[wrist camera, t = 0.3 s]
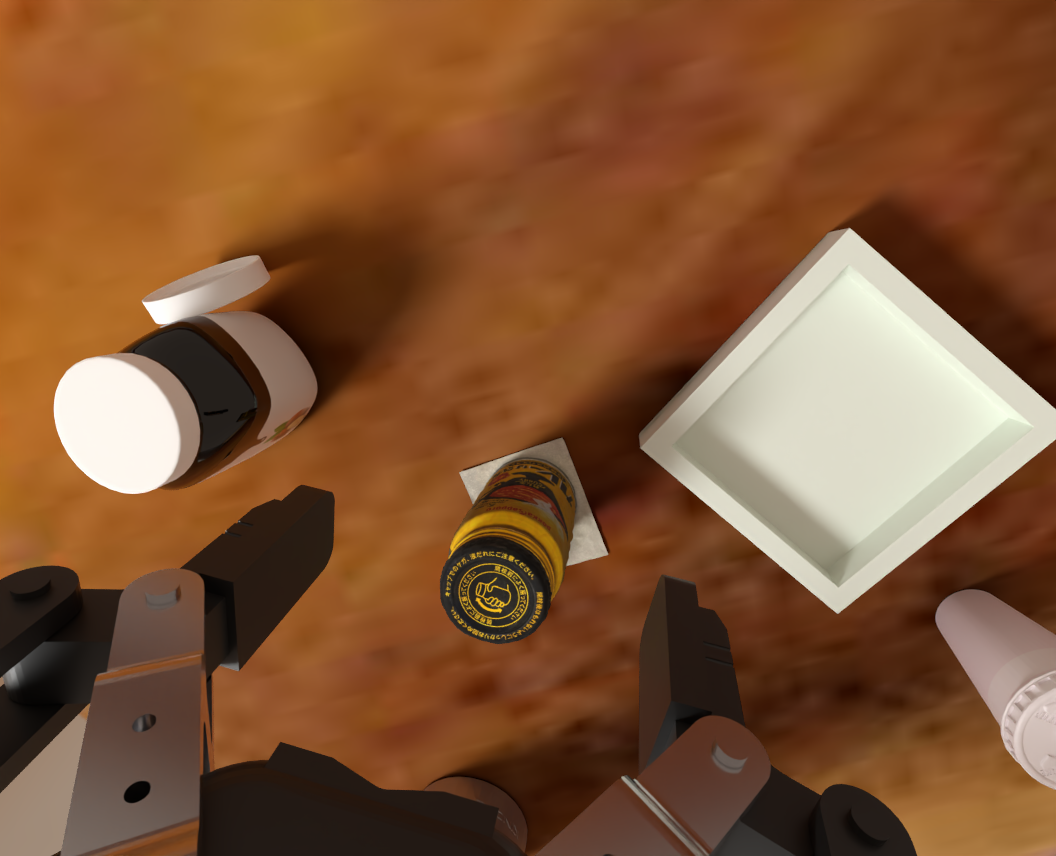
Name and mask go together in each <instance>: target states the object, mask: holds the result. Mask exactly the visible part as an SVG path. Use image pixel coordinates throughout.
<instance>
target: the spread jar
mask: <svg viewBox="0 0 1056 856" xmlns="http://www.w3.org/2000/svg"><path fill="white" fill-rule="evenodd" d="M269 280H270V275H269V273H268V272H267V270H266V268H265V266H264V264H263V262H262V260H261V258H260V257H259V256H258V255H253V256H247V257H242V258H238V259H234V260H231V261H227V262H224V263H221V264H218V265H215V266H212V267H209V268H206V269H204V270H201V271H198V272H196V273H193V274H191V275H188V276H186V277H183V278H181V279H179V280H176V281H174V282H172V283H170V284H168V285H166V286H164V287H162V288H160V289H158V290H156V291H154V292H152V293H151V294H149V295H147V296H146V297H145V298H144V299H143V300H142V302H143V304H144V305H145V307H146V308H147V310H148V312H149V313H150V315H151V316H152V318H153V319H154V321H155V322H156V323H157V324H166V325H164V326H161V327H159V328H157V329H155V330H154V331H152V332H150V333H148V334H146V335H144V336H142V337H141V338H139V339H137V340H136V341H134V342H132V343H131V344H129V345H128V346H126V347H125V348H123V349H122V350H120V351H119V352H118V353H116V354H110V355H104V356H98V357H92V358H87V359H84V360H82V361H80V362H78V363H76V364H75V365H74V366H72V367H71V368H70V369H69V370H68V371H67V372H66V373H65V375H64V376H63V377H62V379H61V380H60V383H59V385H58V388H57V390H56V394H55V401H54V418H55V423H56V427H57V431H58V434H59V436H60V439H61V442H62V444H63V446H64V447H65V449H66V451H67V453H68V454H69V456H70V457H71V458H72V460H73V461H74V462H75V464H76V465H77V466H78V467H79V468H80V469H81V470H82V471H83V472H84V473H85V474H86V475H87V476H89V477H90V478H91V479H93V480H94V481H96V482H97V483H99V484H101V485H103V486H105V487H107V488H109V489H111V490H115V491H118V492H122V493H132V494H137V493H144V492H148V491H151V490H153V489H156V488H160V489H164V490H179V489H183V488H187V487H190V486H192V485H195V484H197V483H200V482H202V481H204V480H206V479H208V478H210V477H212V476H214V475H216V474H218V473H220V472H222V471H225V470H227V469H229V468H231V467H233V466H235V465H237V464H239V463H241V462H243V461H245V460H247V459H248V458H250V457H252V456H254V455H256V454H258V453H259V452H261V451H263V450H264V449H266V448H268V447H269V446H271V445H273V444H274V443H276V442H277V441H279V440H281V439H282V438H283V437H285V436H286V435H287V434H289V433H290V432H291V431H292V430H294V429H295V428H296V427H297V426H298V425H299V424H300V423H301V422H302V421H303V420H304V418H305V417H306V416H307V414H308V413H309V411H310V410H311V408H312V406H313V405H314V402H315V400H316V397H317V392H318V384H317V379H316V376H315V373H314V371H313V369H312V367H311V365H310V363H309V361H308V359H307V358H306V356H305V354H304V353H303V352H302V350H301V349H300V347H299V346H298V345H297V344H296V343H295V341H294V340H293V339H292V338H291V337H290V336H289V335H288V334H287V333H286V332H285V331H284V330H282V329H281V328H280V327H279V326H278V325H277V324H275V323H274V322H273V321H271V320H270V319H268V318H267V317H265V316H263V315H261V314H258V313H255V312H249V311H232V312H222V313H211V314H204V313H207V312H210V311H212V310H215V309H217V308H220V307H222V306H225V305H227V304H229V303H232V302H234V301H236V300H238V299H240V298H242V297H244V296H246V295H248V294H250V293H252V292H254V291H255V290H257V289H259V288H260V287H262V286H263V285H265V284H266V283H267V282H268V281H269ZM201 314H203V315H201Z"/></svg>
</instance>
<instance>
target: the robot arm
mask: <svg viewBox="0 0 1056 856" xmlns="http://www.w3.org/2000/svg"><path fill="white" fill-rule="evenodd" d="M334 504H335V499H334V495H333V493H332V492H329V491H325V490H321V489H317V488H313V487H309V486H305V485H300V486H298V487H297V488H296V489H295V490H293V491H292V492H291V493H290V494H289V495H288V496H287V497H285V498H284V499H283V500H282V501H280V500H276V499H274V500H272V501H269V502H267V503H264V504H262V505H260V506H257V507H255V508H253V509H252V510H250V511H249V512H248V513H247V514H246V515H244V516H243V517H242V518H241V519H240V520H238V523H237V524H236V523H235V524H233V525H232V526H231V527H230V528H229V529H227V530H226V532H225V534H221V535H220V536H219V537H218V538H216V539H215V540H214V541H213V542H212V543H210V544H209V545H208V546H207V547H206V548H204V549H203V550H202V551H201V552H199V553H198V554H197V555H196V556H195V557H193V558H192V559H191V560H190V561H189V562H187V563H186V564H185V565H184V566H182V567H181V568H180V569H165V570H160V571H156V572H152V573H149V574H147V575H144V576H142V577H140V578H138V579H137V580H135V581H133V582H132V583H131V584H130V585H128V586H127V587H126V588H125V589H123V590H111V589H81V588H80V583H79V578H78V576H77V574H76V573H75V572H74V571H73V570H71V569H69V568H66V567H61V566H40V567H34V568H29V569H25V570H22V571H19V572H16V573H14V574H11V575H9V576H7V577H5V578H3V579H1V580H0V678H1V677H3V680H4V684H3V685H2V686H1V687H0V793H1V792H2V791H3V790H4V789H5V788H6V787H7V786H8V785H9V784H10V783H11V782H12V781H13V780H14V779H15V778H16V777H17V776H18V775H19V774H20V772H22V771H23V770H24V769H25V767H26V766H27V765H28V764H29V763H30V762H31V761H32V760H33V759H34V758H35V757H36V756H37V755H38V754H39V753H40V752H41V751H42V750H43V749H44V748H45V747H46V746H47V745H48V744H49V743H50V742H51V741H52V740H53V739H54V738H55V737H56V736H57V735H58V734H59V733H60V732H61V731H62V730H63V729H64V728H65V727H66V726H67V725H68V724H69V723H70V722H71V721H72V720H73V719H74V718H75V717H76V716H77V715H78V714H79V713H80V712H81V711H82V710H83V709H84V708H85V707H86V706H87V705H88V704H89V703H90V707H89V713H88V718H87V723H86V728H85V733H84V738H83V744H82V748H81V753H80V758H79V763H78V769H77V774H76V779H75V784H74V789H73V794H72V799H71V804H70V809H69V814H68V819H67V825H66V830H65V835H64V840H63V845H62V850H61V851H59V852H58V853H56V854H54V855H52V856H527V855H526V854H525V848H526V842H527V832H528V830H527V825H526V820H525V818H524V816H523V814H522V811H521V810H520V808H519V807H518V806H517V804H516V803H515V801H513V800H512V799H511V798H510V797H509V796H508V795H507V794H506V793H505V792H503V791H502V790H500V789H499V788H497V787H496V786H494V785H492V784H489V783H487V782H485V781H482V780H478V779H474V778H469V777H449V778H445V779H442V780H438V781H436V782H434V783H433V784H431V785H429V786H428V787H427V788H426V789H425V790H424V791H415V790H386V789H381V788H378V787H377V786H375V785H373V784H372V783H370V782H369V781H367V780H366V779H364V778H363V777H361V776H360V775H358V774H357V773H355V772H354V771H352V770H350V769H349V768H347V767H346V766H344V765H343V764H341V763H340V762H338V761H337V760H335V759H334V758H332V757H328V756H325V755H322V754H319V753H315V752H312V751H309V750H305V749H302V748H299V747H295V746H292V745H289V744H285V743H282V742H280V743H279V745H278V747H277V748H276V750H275V751H274V753H273V754H272V756H271V757H270V759H269V760H258V761H247V762H242V763H237V764H233V765H229V766H226V767H223V768H219V769H216V770H214V710H213V676H212V673H213V671H214V670H215V669H216V668H217V667H218V666H219V665H220V666H223V667H227V668H230V669H234V670H237V671H239V670H240V669H241V668H242V667H243V666H244V664H245V663H246V662H247V661H248V660H249V658H250V657H251V656H252V655H253V654H254V652H255V651H256V650H257V649H258V648H259V647H260V645H261V644H262V643H263V642H264V641H265V639H266V638H267V637H268V636H269V635H270V633H271V632H272V631H273V630H274V629H275V627H276V626H277V625H278V624H279V623H280V621H281V620H282V619H283V618H284V617H285V615H286V614H287V613H288V612H289V611H290V609H291V608H292V607H293V606H294V605H295V603H296V602H297V601H298V600H299V599H300V597H301V596H302V595H303V594H304V593H305V591H306V590H307V589H308V588H309V587H310V585H311V584H312V583H313V582H314V581H315V579H316V578H317V577H318V576H319V575H320V573H321V572H322V571H323V570H324V568H325V567H326V565H327V563H328V561H329V559H330V556H331V553H332V550H333V540H334ZM535 856H917V854H916V851H915V848H914V846H913V843H912V840H911V838H910V836H909V834H908V832H907V830H906V829H905V827H904V826H903V824H902V823H901V822H900V820H899V819H898V818H897V817H896V815H895V814H894V813H893V812H892V811H891V810H890V809H889V808H888V807H887V806H886V805H885V804H883V803H882V802H881V801H880V800H878V799H877V798H875V797H874V796H872V795H871V794H869V793H867V792H866V791H864V790H862V789H859V788H857V787H854V786H850V785H844V784H837V785H832V786H830V787H828V788H827V789H826V790H825V791H824V792H823V794H822V795H819V794H817V793H816V792H814V791H812V790H810V789H809V788H807V787H805V786H803V785H802V784H800V783H798V782H796V781H795V780H793V779H791V778H789V777H788V776H786V775H784V774H783V773H781V772H780V771H778V770H777V769H776V768H774V767H773V766H772V765H771V764H770V760H769V757H768V755H767V752H766V750H765V749H764V747H763V745H762V744H761V742H760V741H759V740H758V739H757V738H756V737H755V735H754V734H752V733H751V732H750V731H749V730H748V729H747V728H746V727H745V723H744V718H743V712H742V707H741V702H740V697H739V691H738V686H737V681H736V675H735V670H734V668H733V660H732V654H731V652H730V644H729V638H728V633H727V629H726V627H725V626H724V624H723V623H722V621H721V620H720V618H719V617H718V615H717V614H716V612H715V611H714V610H710V609H706V608H702V607H699V606H698V598H697V591H696V585H695V583H694V582H691V581H687V580H683V579H679V578H675V577H671V576H667V575H661V577H660V579H659V582H658V585H657V588H656V591H655V594H654V597H653V600H652V603H651V606H650V609H649V612H648V615H647V618H646V621H645V624H644V628H643V632H642V637H641V643H640V671H639V776H638V777H637V778H635V779H634V780H632V779H631V778H630V777H629V776H628V775H625V776H623V777H621V778H620V779H618V780H617V781H616V782H615V783H613V784H612V785H611V786H610V787H609V788H608V789H607V790H606V791H605V792H604V793H603V794H601V795H600V796H599V797H598V798H597V799H596V800H595V801H594V802H593V803H592V804H591V805H589V806H588V807H587V808H586V809H585V810H584V811H583V812H582V813H581V814H580V815H579V816H577V817H576V818H575V819H574V820H573V821H572V822H571V823H570V824H569V825H568V826H567V827H566V828H564V829H563V830H562V831H561V832H560V833H559V834H558V835H557V836H556V837H555V838H554V839H552V840H551V841H550V842H549V843H548V844H547V845H546V846H545V847H544V848H543V849H542V850H540V851H539V852H538V853H537V854H536V855H535Z"/></svg>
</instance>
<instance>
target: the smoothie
mask: <svg viewBox="0 0 1056 856" xmlns="http://www.w3.org/2000/svg"><path fill="white" fill-rule="evenodd" d="M936 624H937V627H938V629H939V630H940V632H941V634H942V635H943V637H944V638H945V640H946V641H947V643H948V645H949V646H950V648H951V649H952V651H953V653H954V654H955V656H956V657H957V659H958V660H959V662H960V664H961V665H962V667H963V668H964V670H965V671H966V673H967V675H968V676H969V678H970V679H971V681H972V682H973V684H974V686H975V687H976V689H977V690H978V692H979V693H980V695H981V697H982V698H983V700H984V701H985V703H986V705H987V706H988V708H989V709H990V711H991V713H992V714H993V716H994V718H995V719H996V721H997V722H998V724H999V725H1000V727H1001V736H1002V739H1003V742H1004V745H1005V747H1006V749H1007V750H1008V752H1009V753H1010V754H1011V755H1012V757H1013V758H1014V759H1015V761H1017V762H1018V763H1019V764H1021V766H1022V767H1023V768H1024V770H1025V771H1026V772H1027V773H1028V774H1029V775H1031V776H1032V777H1033V778H1034V779H1036V780H1037V781H1038V782H1040V783H1042V784H1044V785H1046V786H1048V787H1050V788H1053V789H1055V790H1056V635H1055V634H1053V633H1052V632H1050V631H1048V630H1047V629H1045V628H1044V627H1042V626H1041V625H1039V624H1037V623H1036V622H1034V621H1033V620H1031V619H1029V618H1028V617H1026V616H1025V615H1023V614H1022V613H1020V612H1018V611H1017V610H1015V609H1014V608H1012V607H1011V606H1009V605H1007V604H1006V603H1004V602H1003V601H1001V600H1000V599H998V598H996V597H995V596H993V595H992V594H990V593H988V592H985V591H982V590H975V589H969V590H962V591H959V592H956V593H954V594H952V595H950V596H948V597H947V598H946V599H945V600H943V602H942V603H941V604H940V605H939V607H938V609H937V612H936Z"/></svg>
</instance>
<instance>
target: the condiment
mask: <svg viewBox="0 0 1056 856" xmlns="http://www.w3.org/2000/svg"><path fill="white" fill-rule="evenodd" d="M459 473H460V475H461V478H462V480H463V482H464V484H465V487H466V489H467V491H468V493H469V495H470V498H471V500H472V503H473V506H472V508H471V509H470V510H469V511H468V513H467V515H466V517H465V518H464V519H463V521H462V523H461V524H460V526H459V528H458V529H457V531H456V532H455V534H454V537H453V539H452V542H451V545H450V549H449V556H448V560H447V561H446V563H445V566H444V567H443V571H442V575H441V579H440V596H441V602H442V605H443V607H444V609H445V610H446V613H447V615H448V617H449V619H450V620H451V621H452V622H453V623H454V625H455V626H456V627H457V628H458V629H460V630H461V631H462V632H463V633H465V634H467V635H469V636H472V637H474V638H477V639H479V640H482V641H487V642H490V643H495V644H503V643H510V642H513V641H519V640H521V639H523V638H525V637H527V636H529V635H531V634H532V633H533V632H535V631H536V629H537V628H538V627H539V626H540V624H541V623H542V622H543V621H544V620H545V618H546V616H547V614H548V610H549V608H550V605H551V603H550V602H551V601H552V599H553V598H554V596H555V595H556V594H557V592H558V590H559V587H560V585H561V583H562V582H563V579H564V574H565V569H566V566H567V565H573V564H576V563H580V562H583V561H586V560H589V559H595V558H598V557H602V556H605V555H608V553H607V550H606V548H605V545H604V543H603V540H602V537H601V535H600V532H599V530H598V528H597V525H596V522H595V520H594V517H593V515H592V512H591V509H590V507H589V504H588V501H587V498H586V496H585V493H584V490H583V488H582V485H581V483H580V480H579V478H578V475H577V472H576V470H575V467H574V465H573V462H572V460H571V457H570V454H569V452H568V449H567V447H566V444H565V442H564V440H563V437H562V438H559V439H556V440H553V441H550V442H547V443H544V444H541V445H538V446H535V447H532V448H529V449H526V450H523V451H520V452H517V453H514V454H511V455H508V456H505V457H502V458H500V459H497V460H494V461H491V462H488V463H485V464H482V465H480V466H477V467H474V468H471V469H468V470H465V471H462V472H459Z"/></svg>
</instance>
